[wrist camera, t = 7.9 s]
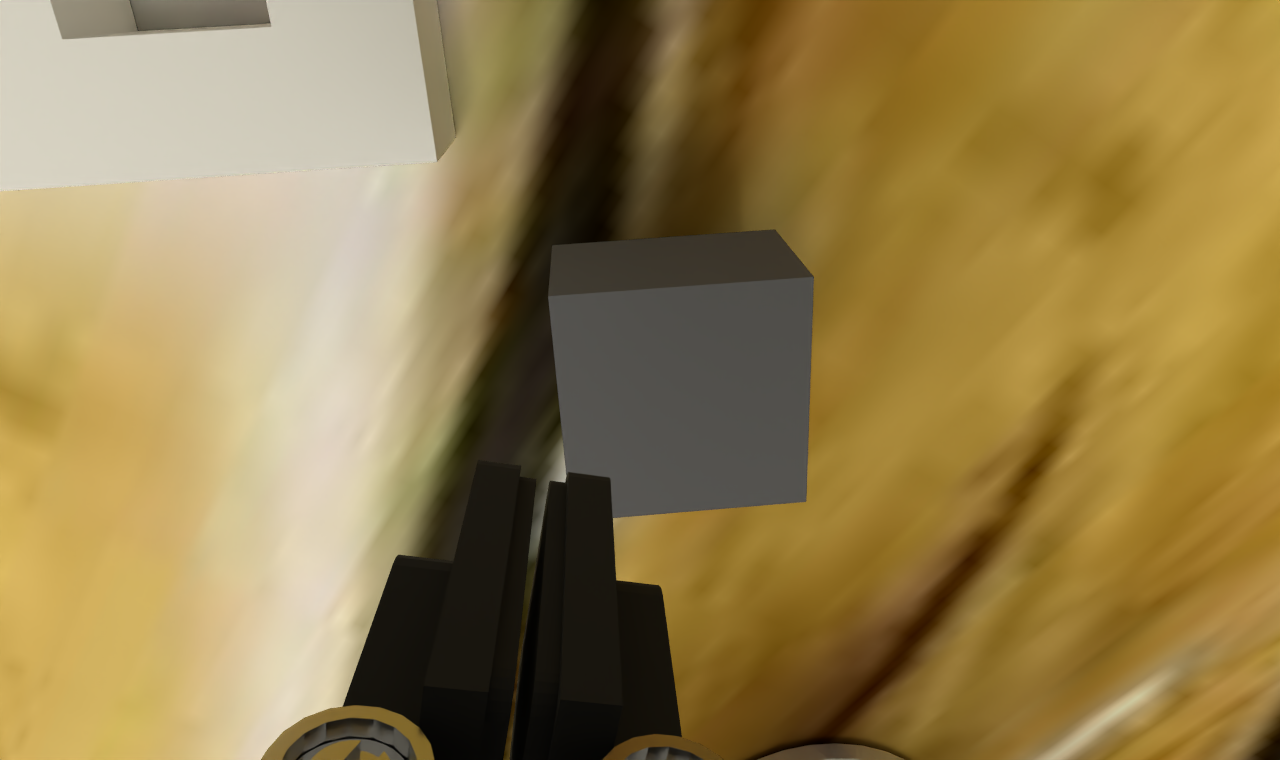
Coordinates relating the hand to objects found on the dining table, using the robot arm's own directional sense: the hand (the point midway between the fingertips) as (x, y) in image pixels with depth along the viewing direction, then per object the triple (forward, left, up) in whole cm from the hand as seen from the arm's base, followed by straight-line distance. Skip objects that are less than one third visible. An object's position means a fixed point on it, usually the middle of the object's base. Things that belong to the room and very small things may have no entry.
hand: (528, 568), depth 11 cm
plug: (-3, -3, -18) cm, 19 cm away
